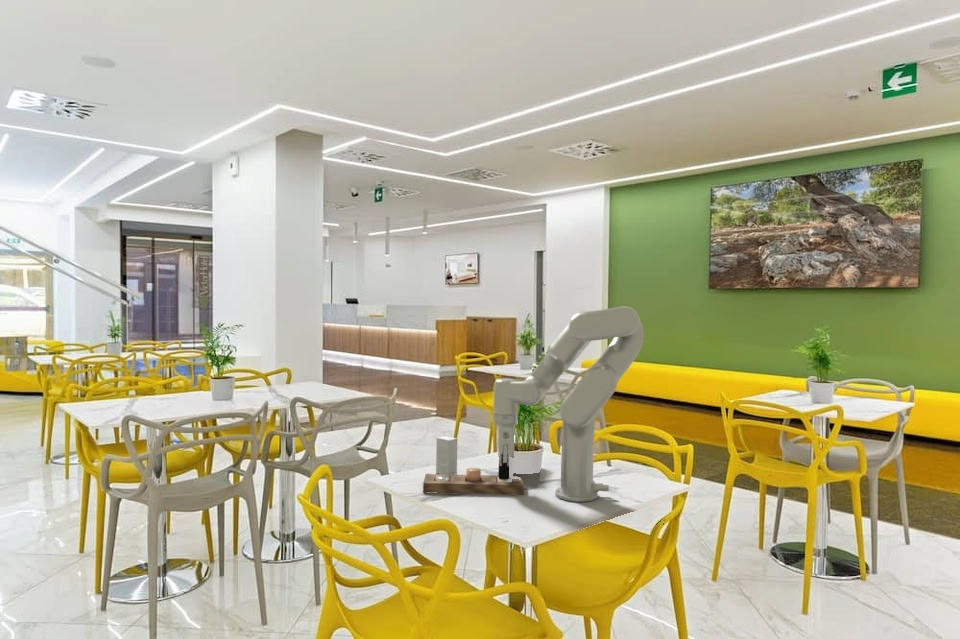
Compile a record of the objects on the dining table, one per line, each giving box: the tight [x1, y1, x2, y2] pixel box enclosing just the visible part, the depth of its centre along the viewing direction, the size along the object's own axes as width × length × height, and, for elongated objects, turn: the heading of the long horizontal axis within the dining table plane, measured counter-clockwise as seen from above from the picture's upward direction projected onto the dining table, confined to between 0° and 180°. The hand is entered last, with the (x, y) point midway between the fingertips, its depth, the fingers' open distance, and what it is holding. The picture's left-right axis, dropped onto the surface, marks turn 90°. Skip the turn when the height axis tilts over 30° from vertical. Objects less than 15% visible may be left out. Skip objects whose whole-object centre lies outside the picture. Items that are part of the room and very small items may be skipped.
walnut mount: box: [422, 473, 524, 496], centre depth 199 cm, size 30×10×3 cm, turn 90°
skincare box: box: [435, 436, 458, 475], centre depth 215 cm, size 6×4×12 cm
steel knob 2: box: [497, 477, 511, 482], centre depth 199 cm, size 4×4×3 cm
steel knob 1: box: [435, 475, 450, 481], centre depth 199 cm, size 4×4×3 cm
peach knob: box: [465, 467, 482, 482], centre depth 199 cm, size 4×4×3 cm
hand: (503, 478), depth 199 cm, fingers closed
